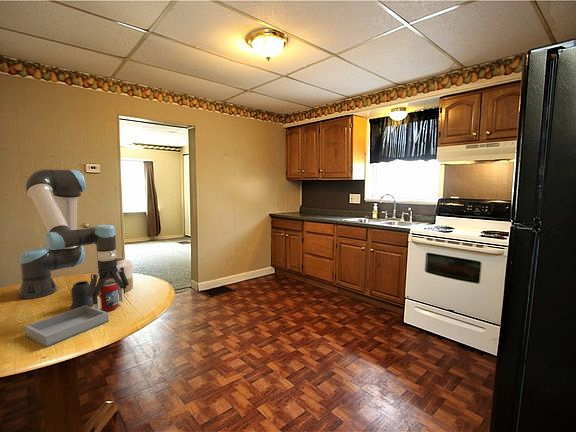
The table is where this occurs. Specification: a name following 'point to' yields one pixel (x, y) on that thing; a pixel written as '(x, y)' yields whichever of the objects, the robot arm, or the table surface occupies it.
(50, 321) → the bin
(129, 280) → the vase
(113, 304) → the beverage can
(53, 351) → the table surface
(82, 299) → the mug
